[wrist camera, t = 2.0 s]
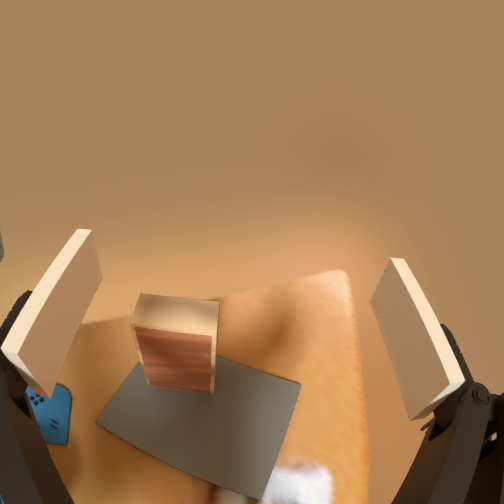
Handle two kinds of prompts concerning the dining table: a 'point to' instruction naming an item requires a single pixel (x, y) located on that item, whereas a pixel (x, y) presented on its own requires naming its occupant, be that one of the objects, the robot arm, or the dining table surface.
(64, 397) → the handheld gaming device
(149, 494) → the dining table surface
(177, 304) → the birch board
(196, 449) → the mat
